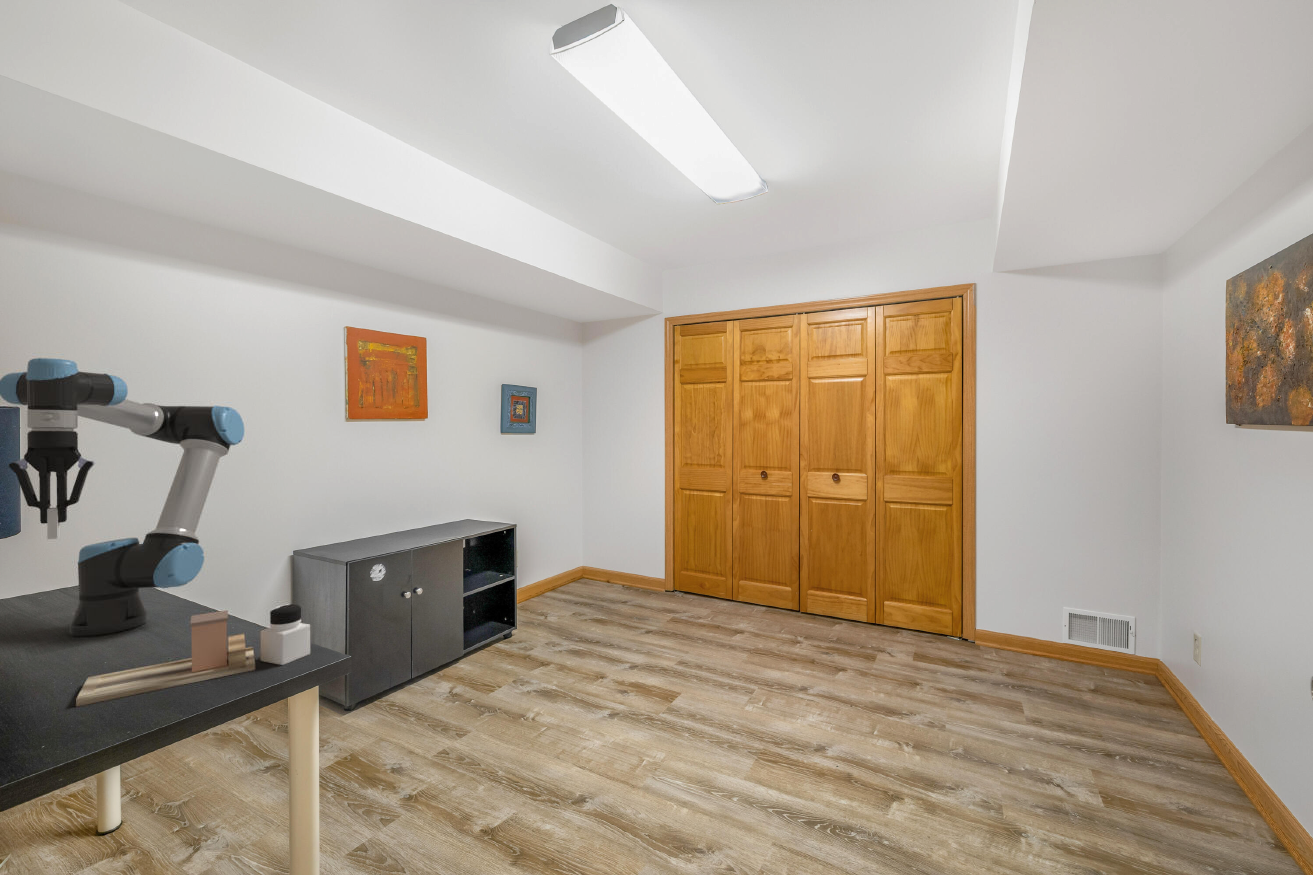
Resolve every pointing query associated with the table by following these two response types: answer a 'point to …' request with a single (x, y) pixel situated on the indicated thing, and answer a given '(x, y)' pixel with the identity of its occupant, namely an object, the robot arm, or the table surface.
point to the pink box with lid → (209, 640)
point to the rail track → (164, 675)
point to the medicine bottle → (285, 636)
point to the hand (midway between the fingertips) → (53, 537)
